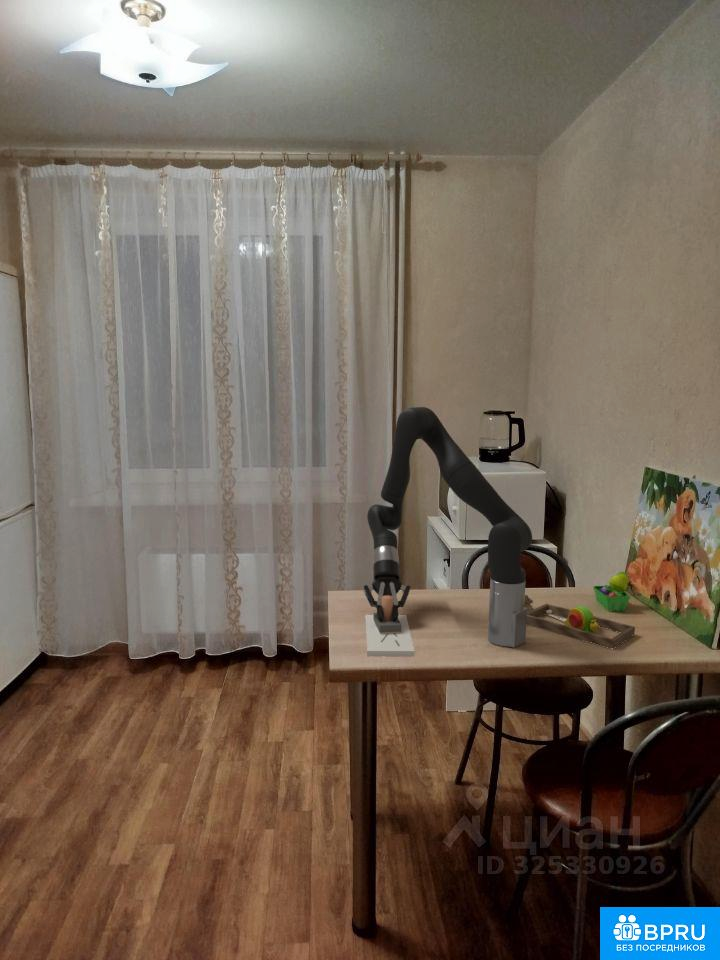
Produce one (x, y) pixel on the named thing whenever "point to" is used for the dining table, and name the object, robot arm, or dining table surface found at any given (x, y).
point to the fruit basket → (613, 593)
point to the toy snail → (579, 619)
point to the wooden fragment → (526, 604)
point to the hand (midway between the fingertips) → (387, 619)
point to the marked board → (389, 640)
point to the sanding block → (387, 617)
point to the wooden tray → (577, 633)
